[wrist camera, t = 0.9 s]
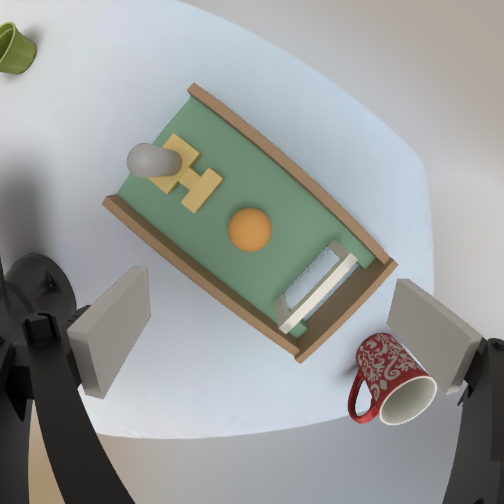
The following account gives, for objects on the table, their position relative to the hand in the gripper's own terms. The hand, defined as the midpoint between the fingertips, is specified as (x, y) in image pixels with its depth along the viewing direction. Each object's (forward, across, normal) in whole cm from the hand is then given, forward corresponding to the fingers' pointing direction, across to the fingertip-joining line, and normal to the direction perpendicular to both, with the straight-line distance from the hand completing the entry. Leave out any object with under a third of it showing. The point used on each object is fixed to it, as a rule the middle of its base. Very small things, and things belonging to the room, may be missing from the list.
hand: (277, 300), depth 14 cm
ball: (+20, -1, 0) cm, 20 cm away
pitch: (+24, -1, 0) cm, 24 cm away
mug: (+24, +20, -21) cm, 37 cm away
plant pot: (+25, -42, +29) cm, 57 cm away
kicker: (+22, -9, +6) cm, 25 cm away
